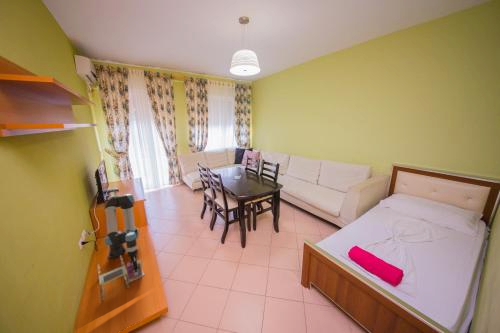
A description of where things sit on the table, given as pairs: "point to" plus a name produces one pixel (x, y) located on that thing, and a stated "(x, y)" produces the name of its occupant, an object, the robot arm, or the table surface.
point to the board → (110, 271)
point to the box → (131, 267)
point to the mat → (135, 277)
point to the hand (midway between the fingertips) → (135, 272)
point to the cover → (112, 275)
